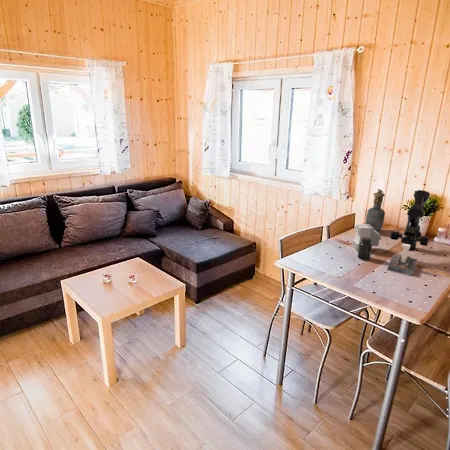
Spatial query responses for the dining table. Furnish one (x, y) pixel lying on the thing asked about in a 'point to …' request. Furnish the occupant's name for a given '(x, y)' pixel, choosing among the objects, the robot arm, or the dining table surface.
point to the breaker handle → (404, 252)
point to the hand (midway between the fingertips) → (405, 251)
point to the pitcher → (376, 212)
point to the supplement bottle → (365, 249)
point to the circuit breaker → (365, 235)
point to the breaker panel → (402, 265)
